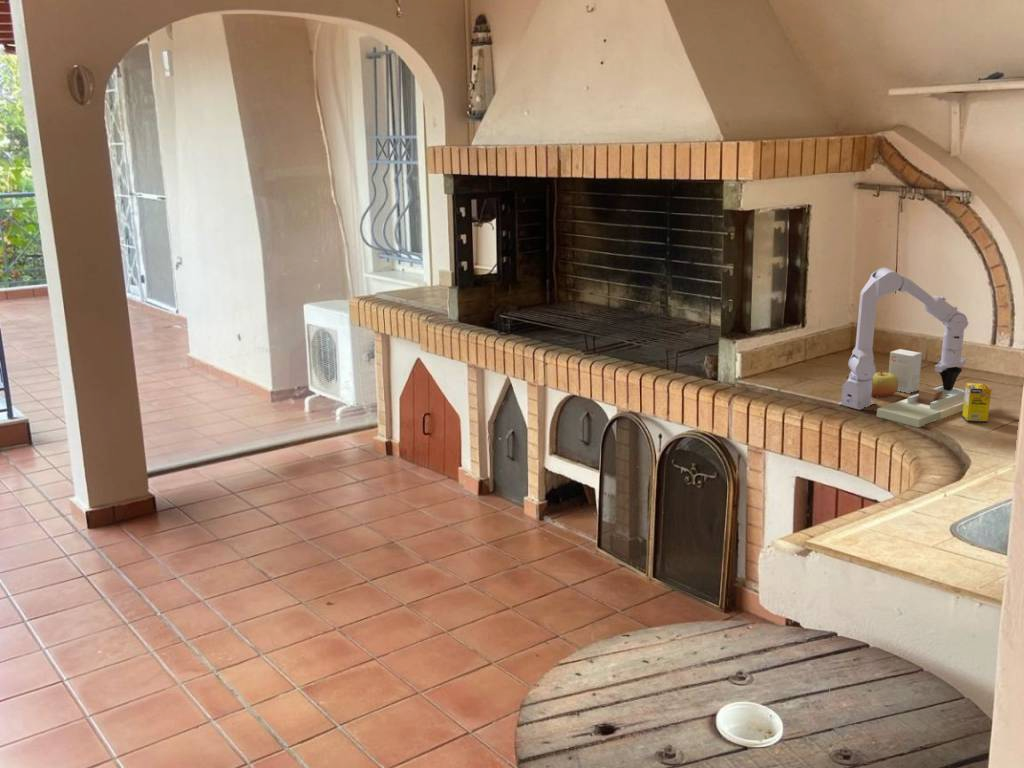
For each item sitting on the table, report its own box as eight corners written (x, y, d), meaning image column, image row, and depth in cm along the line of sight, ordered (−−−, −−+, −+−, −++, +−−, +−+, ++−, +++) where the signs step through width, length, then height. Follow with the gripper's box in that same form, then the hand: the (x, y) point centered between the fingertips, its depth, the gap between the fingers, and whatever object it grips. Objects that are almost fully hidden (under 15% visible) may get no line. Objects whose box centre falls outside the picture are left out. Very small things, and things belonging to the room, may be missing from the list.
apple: (868, 389, 327) (870, 366, 324) (899, 393, 322) (901, 370, 319) (862, 397, 318) (864, 373, 316) (893, 401, 314) (896, 377, 311)
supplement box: (987, 423, 290) (992, 388, 287) (966, 423, 291) (970, 388, 288) (982, 417, 295) (986, 383, 292) (961, 417, 297) (965, 382, 294)
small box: (918, 390, 324) (922, 352, 321) (909, 394, 321) (912, 356, 317) (896, 385, 331) (899, 348, 327) (886, 389, 327) (889, 351, 323)
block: (932, 406, 299) (934, 393, 298) (917, 402, 303) (919, 390, 302) (941, 403, 302) (942, 390, 301) (926, 399, 306) (927, 387, 305)
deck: (918, 427, 288) (919, 413, 287) (876, 416, 299) (877, 402, 298) (974, 406, 306) (976, 392, 305) (933, 396, 317) (934, 383, 316)
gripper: (951, 354, 297) (947, 396, 301) (976, 346, 305) (972, 388, 309) (930, 350, 302) (926, 392, 306) (955, 343, 310) (951, 383, 314)
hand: (947, 389), depth 308 cm, fingers closed
